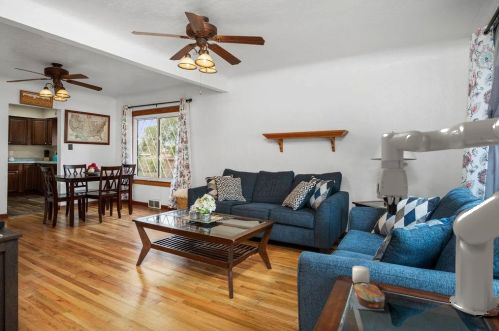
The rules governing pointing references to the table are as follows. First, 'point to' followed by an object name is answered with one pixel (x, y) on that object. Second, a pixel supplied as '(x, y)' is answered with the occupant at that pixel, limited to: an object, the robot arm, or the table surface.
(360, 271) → the white rounded dome
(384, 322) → the table surface
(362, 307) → the mat
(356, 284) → the tin
